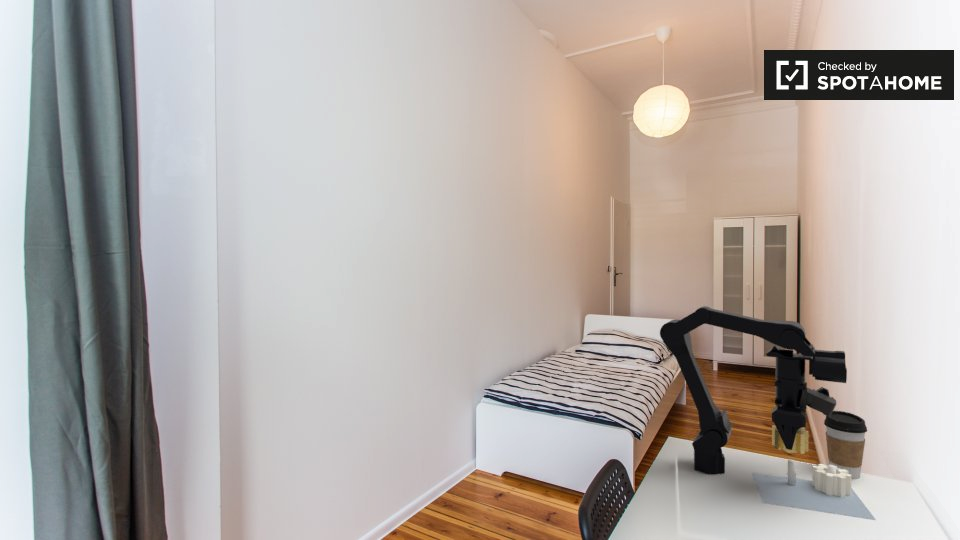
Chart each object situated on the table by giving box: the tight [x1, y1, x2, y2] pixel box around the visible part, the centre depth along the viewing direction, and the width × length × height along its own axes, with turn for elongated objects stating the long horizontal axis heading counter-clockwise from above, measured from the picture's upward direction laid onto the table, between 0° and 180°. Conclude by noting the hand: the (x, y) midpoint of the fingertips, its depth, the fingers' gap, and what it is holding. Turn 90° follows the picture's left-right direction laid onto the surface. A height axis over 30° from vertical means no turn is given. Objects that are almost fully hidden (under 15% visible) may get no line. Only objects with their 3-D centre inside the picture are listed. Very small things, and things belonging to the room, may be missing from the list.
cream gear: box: [812, 463, 852, 498], centre depth 109 cm, size 7×7×4 cm
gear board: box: [751, 459, 876, 521], centre depth 108 cm, size 20×15×6 cm
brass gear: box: [771, 424, 810, 455], centre depth 110 cm, size 7×7×4 cm
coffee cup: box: [823, 410, 868, 480], centre depth 117 cm, size 8×8×15 cm
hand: (789, 443), depth 110 cm, fingers closed on brass gear, 7 cm apart
